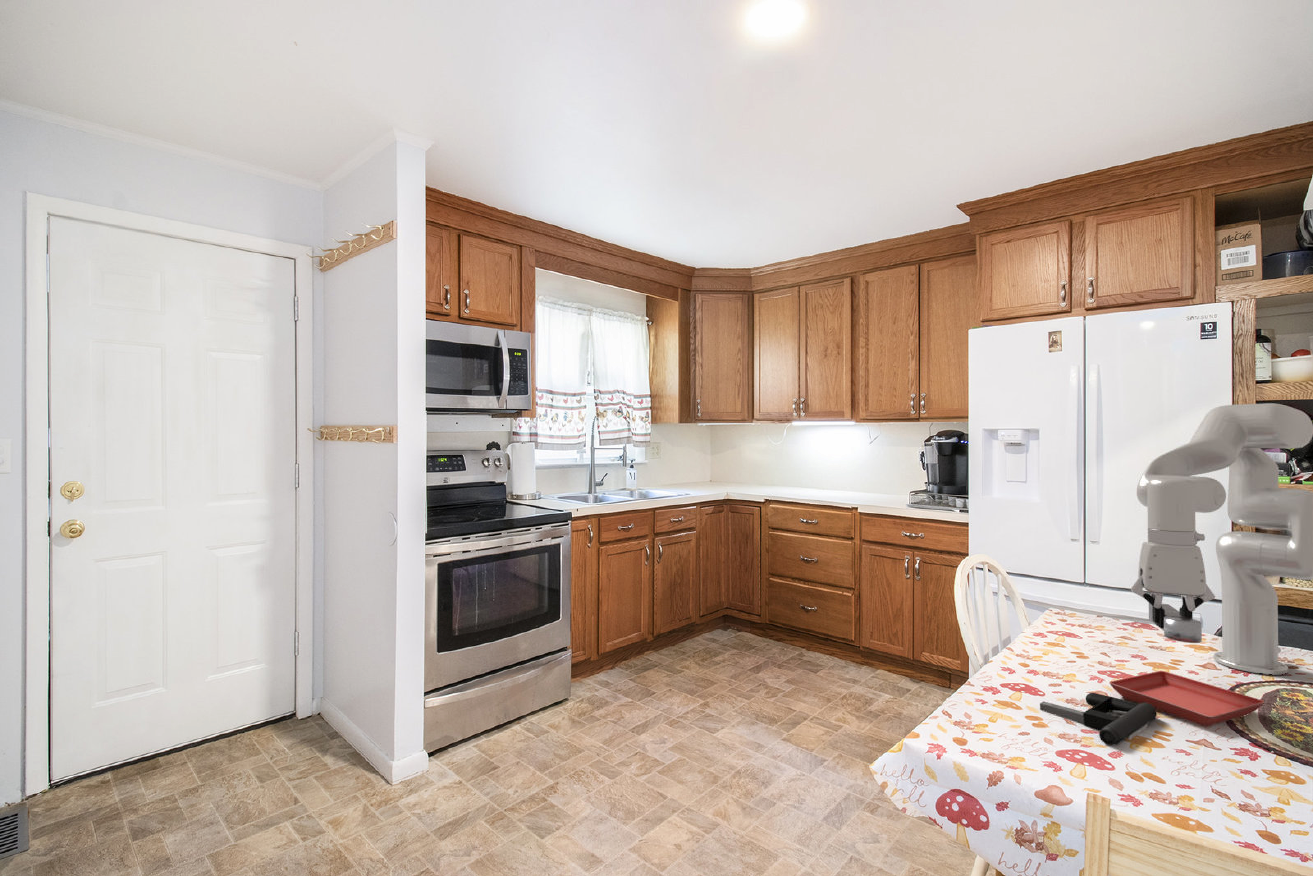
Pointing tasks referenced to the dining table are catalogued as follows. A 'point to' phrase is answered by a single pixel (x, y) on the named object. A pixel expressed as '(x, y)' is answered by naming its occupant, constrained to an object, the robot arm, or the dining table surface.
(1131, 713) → the door handle
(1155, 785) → the dining table surface
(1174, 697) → the plant saucer
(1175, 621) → the ball joint lever
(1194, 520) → the robot arm
